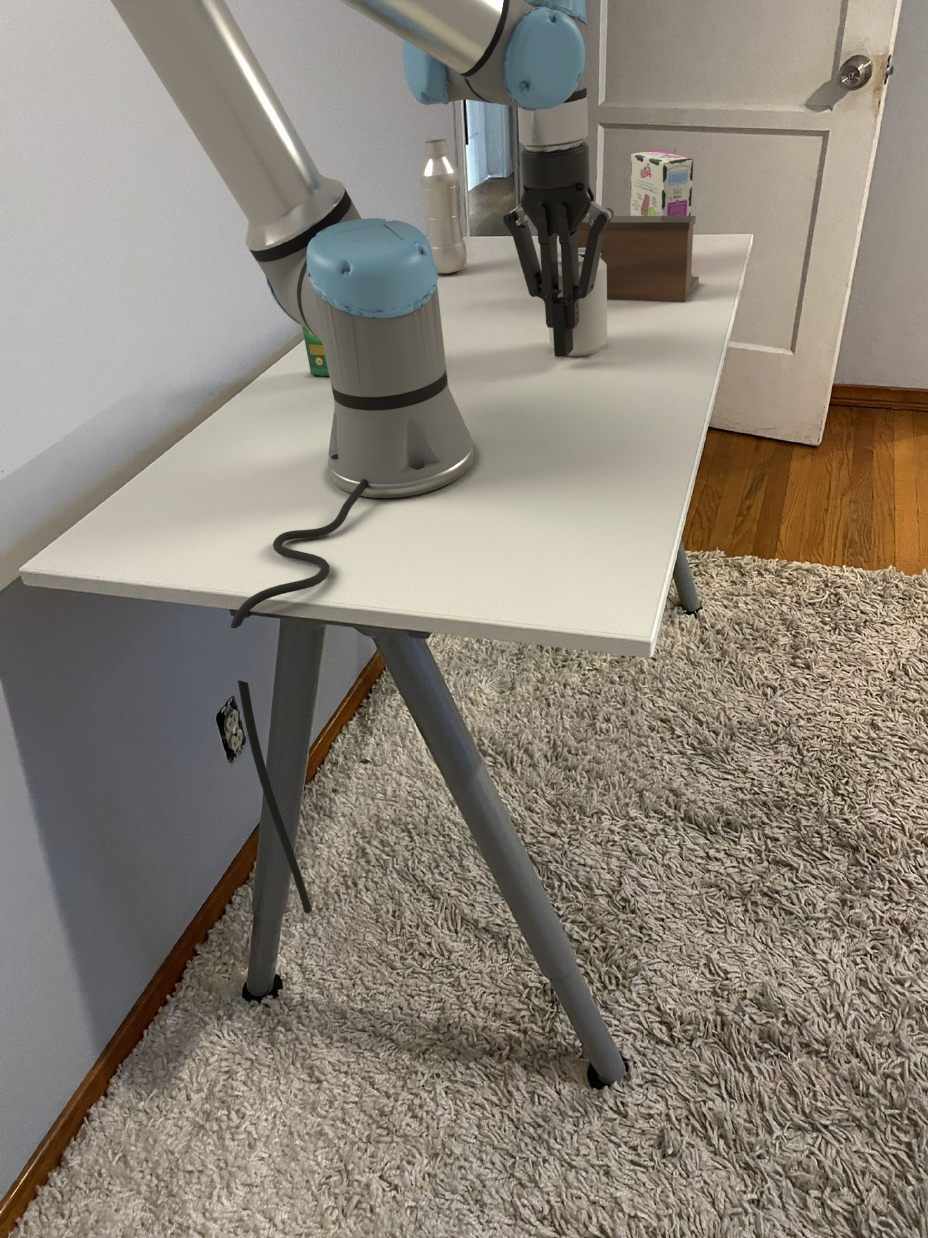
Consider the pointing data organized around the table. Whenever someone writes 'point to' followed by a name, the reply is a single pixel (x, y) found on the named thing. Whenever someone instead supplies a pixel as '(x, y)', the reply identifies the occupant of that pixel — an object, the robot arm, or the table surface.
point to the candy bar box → (661, 184)
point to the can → (588, 312)
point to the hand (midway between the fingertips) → (563, 352)
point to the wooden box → (647, 257)
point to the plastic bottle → (443, 207)
